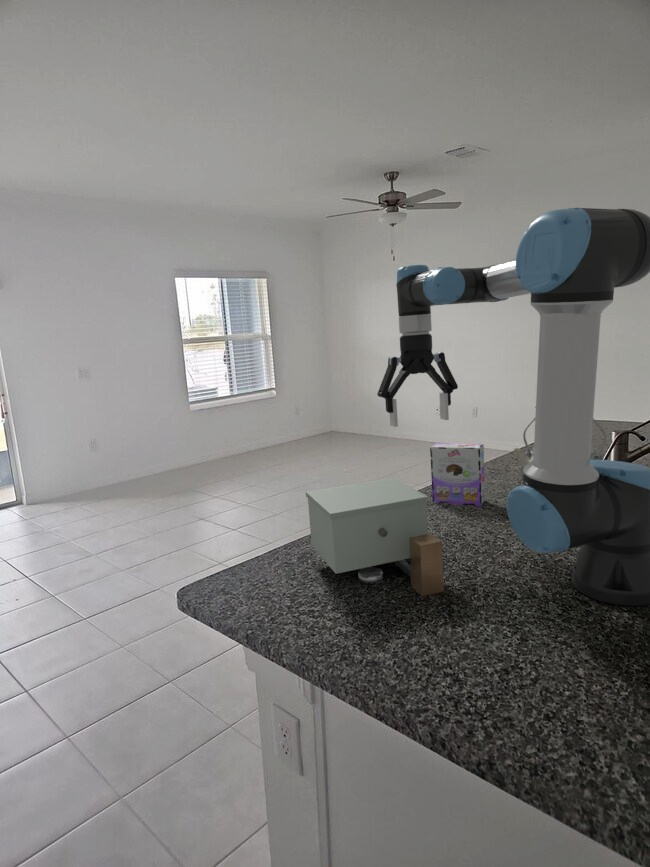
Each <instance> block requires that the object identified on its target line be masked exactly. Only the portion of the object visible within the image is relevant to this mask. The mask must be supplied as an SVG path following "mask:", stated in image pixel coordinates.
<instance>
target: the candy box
mask: <svg viewBox="0 0 650 867" xmlns="http://www.w3.org/2000/svg"><path fill="white" fill-rule="evenodd" d="M484 445H485V444H484V443H455V442H454V443H450V442H449V443H447V442H443V443H442V442H435V443H434V444H432V445H431V446H430V447H429V452H430V454H429V455H430V470H431V471H430V473H431V474H430V476H431V490H432V491H431V492H432V493H431V494H432V497H431V498H432V503H433V502H436V503H435V504H443V503H451V504H450V505H455V504H461V505H460V506H471V505H474V507H482V506H483V504H484V503H485V501H486V480H485V479H486V478H485V476H486V473H485V447H484Z"/></svg>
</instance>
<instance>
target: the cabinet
mask: <svg viewBox="0 0 650 867" xmlns="http://www.w3.org/2000/svg"><path fill="white" fill-rule="evenodd" d="M305 497H306V498H307V505H308V518H309V527H310V541H311V547H312V548H313V549H314V550H315V552H316V553H318V555H319V556H320V557H321V558H322V559H323V561H324V562H325V563H326V564H327V565H328V567H329V568H330V569H331V570H332V572H334V573H335V574H336V575H337V574H342V573H346V572H350V571H351V572H352V571H357V570H361V569H363V568H367V567H374V566H379V565H384V564H389V563H393V562H394V563H395V561H399V560H403V559H404V560H406V559H407V560H408V559H410V547H409V538H410V537H415V536H420V535H425V534H429V533H428V531H429V529H428V509H427V508H428V504H427V502H429V496H428V495H426V494H425V493H422V492H421V491H419V490H417V489H415V488H413V487H412V486H410V485H408V484H405V483H404V482H402V481H400V480H398V479H396V478H394V477H390V478H389V477H388V478H382V479H377V480H370V481H365V482H358V483H351V484H346V485H341V486H340V485H339V486H332V487H327V488H326V487H325V488H321V489H314V490H309V491H305Z"/></svg>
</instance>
